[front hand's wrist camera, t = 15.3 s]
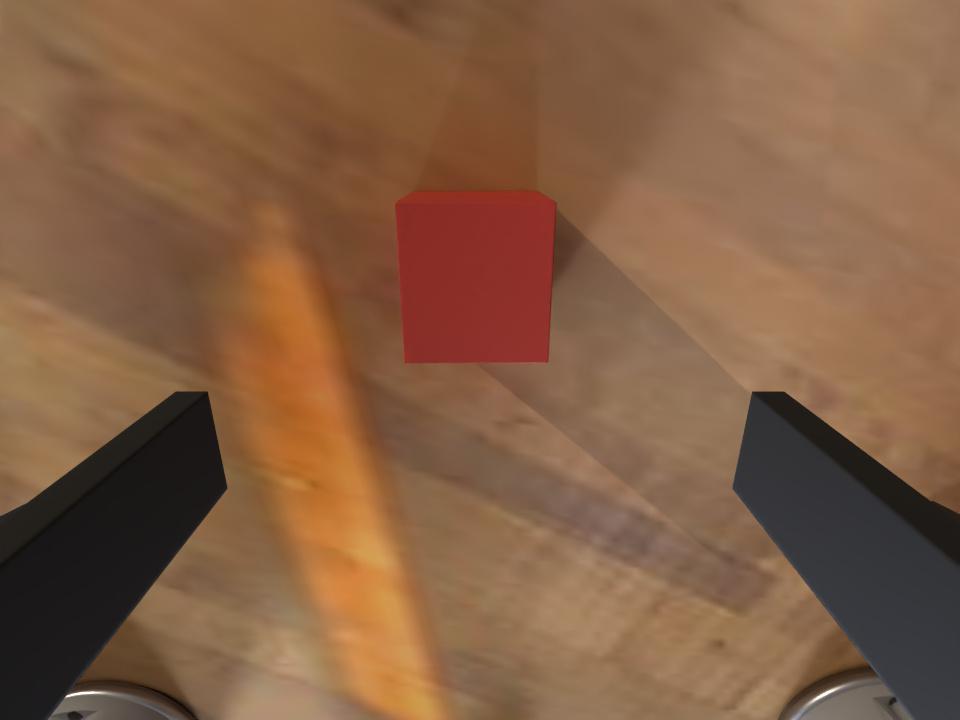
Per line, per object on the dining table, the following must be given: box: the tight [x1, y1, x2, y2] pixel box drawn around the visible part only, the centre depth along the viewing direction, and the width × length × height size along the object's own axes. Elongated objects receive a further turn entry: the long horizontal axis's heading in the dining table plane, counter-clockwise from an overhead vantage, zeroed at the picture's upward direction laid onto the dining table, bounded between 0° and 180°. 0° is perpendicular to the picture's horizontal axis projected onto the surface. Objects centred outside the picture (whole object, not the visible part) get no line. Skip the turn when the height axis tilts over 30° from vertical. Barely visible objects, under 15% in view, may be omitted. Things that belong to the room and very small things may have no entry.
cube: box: [395, 191, 556, 363], centre depth 29 cm, size 8×8×8 cm
